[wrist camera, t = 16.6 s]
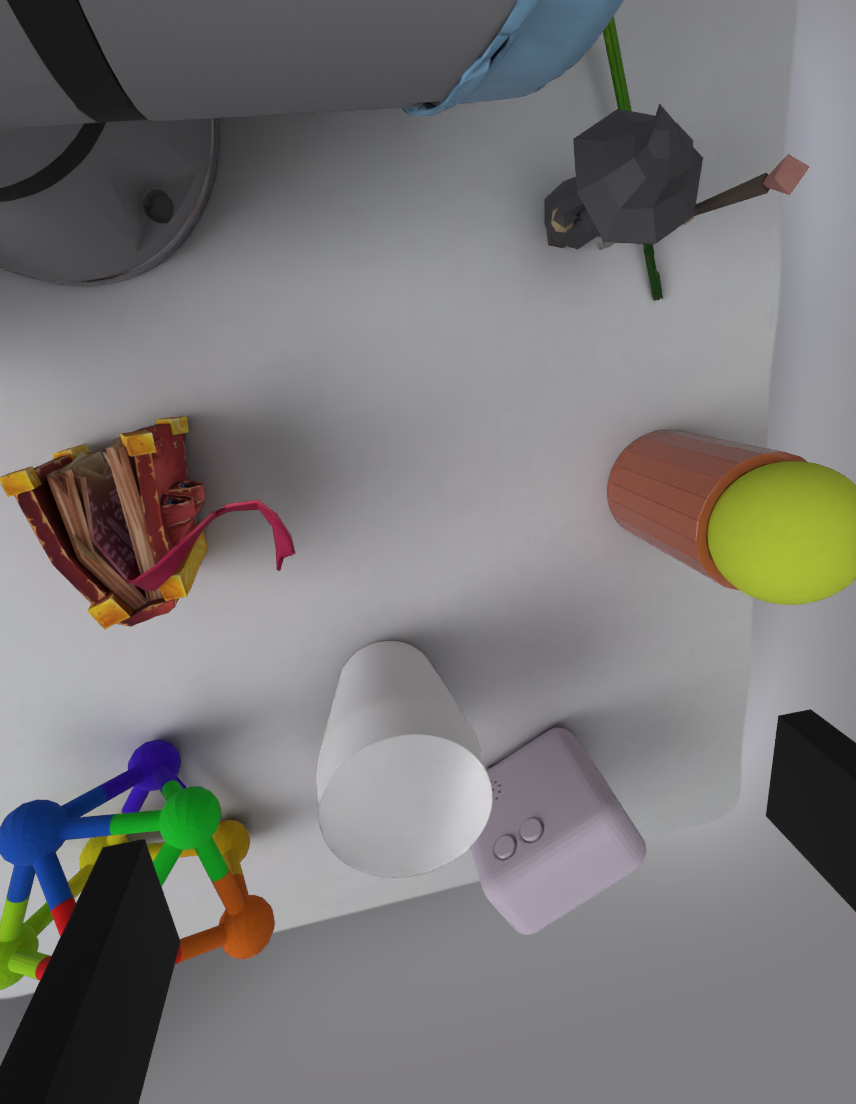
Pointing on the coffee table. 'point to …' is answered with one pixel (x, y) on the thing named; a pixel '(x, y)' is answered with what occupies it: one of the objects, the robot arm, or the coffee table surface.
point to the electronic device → (552, 833)
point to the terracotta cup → (680, 490)
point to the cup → (399, 767)
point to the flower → (624, 104)
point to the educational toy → (182, 823)
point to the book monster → (126, 521)
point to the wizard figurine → (641, 183)
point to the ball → (786, 532)
